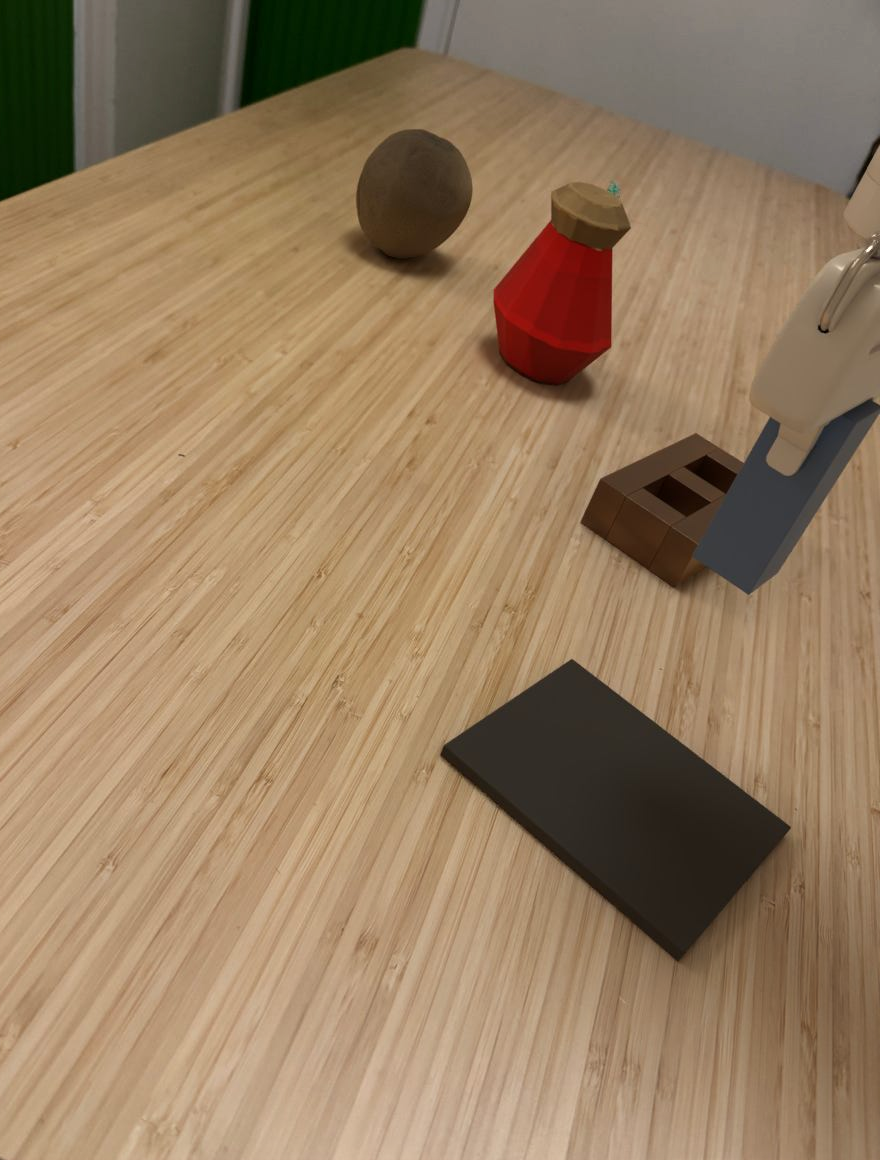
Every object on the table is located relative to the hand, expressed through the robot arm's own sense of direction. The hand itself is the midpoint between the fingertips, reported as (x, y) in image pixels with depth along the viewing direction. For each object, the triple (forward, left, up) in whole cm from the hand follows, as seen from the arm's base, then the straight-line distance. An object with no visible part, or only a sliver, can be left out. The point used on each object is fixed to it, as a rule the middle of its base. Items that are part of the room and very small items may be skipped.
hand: (802, 455), depth 59 cm
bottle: (+42, -45, -26) cm, 67 cm away
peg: (0, 0, -8) cm, 8 cm away
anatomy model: (+75, -106, -26) cm, 133 cm away
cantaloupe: (+70, -51, -26) cm, 91 cm away
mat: (-2, +4, -26) cm, 26 cm away
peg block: (+14, -32, -26) cm, 44 cm away
